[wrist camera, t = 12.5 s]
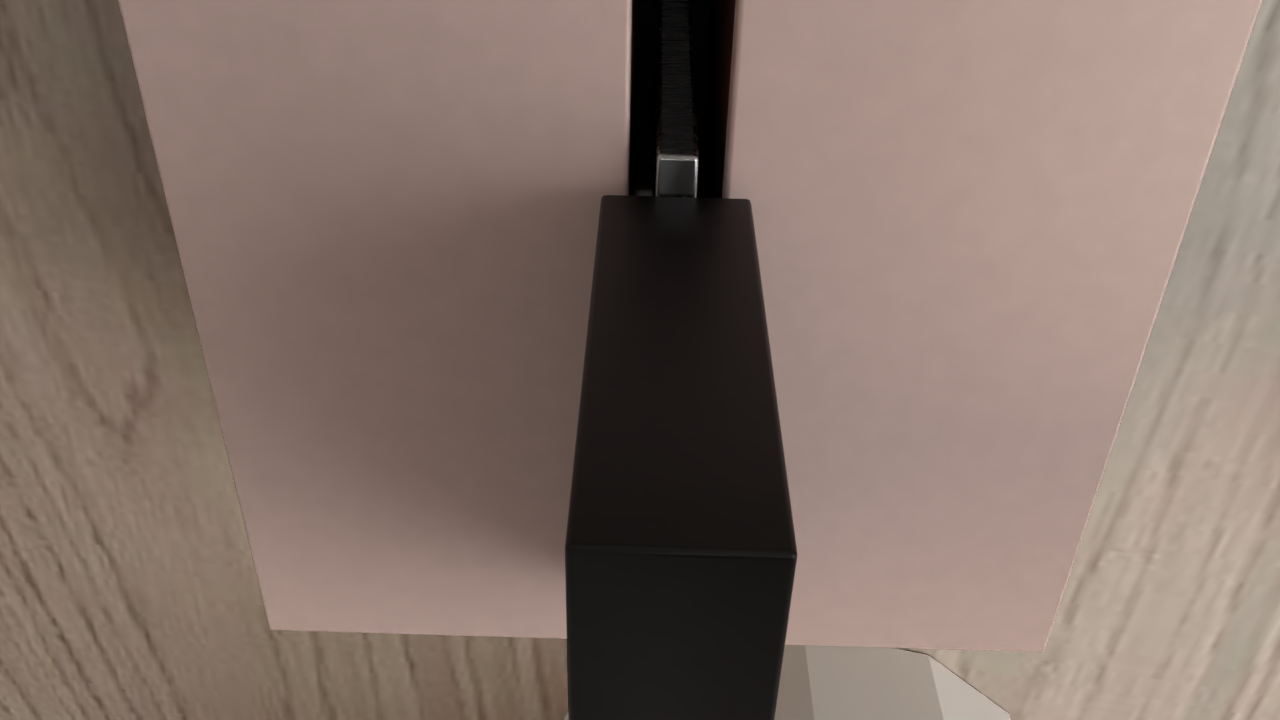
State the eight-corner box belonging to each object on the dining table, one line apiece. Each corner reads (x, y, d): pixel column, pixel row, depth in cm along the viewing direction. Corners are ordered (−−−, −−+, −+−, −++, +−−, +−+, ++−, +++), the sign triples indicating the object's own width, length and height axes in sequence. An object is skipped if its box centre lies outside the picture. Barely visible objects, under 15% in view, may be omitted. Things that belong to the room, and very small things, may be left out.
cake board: (101, -489, 16) (72, -492, 16) (1283, -458, 16) (1316, -459, 16) (286, 434, 26) (274, 462, 25) (1027, 455, 26) (1038, 484, 25)
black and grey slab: (620, -24, 19) (562, 499, 8) (728, -21, 19) (806, 506, 8) (615, 365, 24) (575, 1023, 13) (702, 368, 24) (731, 1028, 13)
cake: (251, -318, 17) (51, -260, 11) (1122, -295, 17) (1341, -226, 11) (358, 392, 24) (268, 631, 19) (960, 410, 24) (1045, 654, 19)
